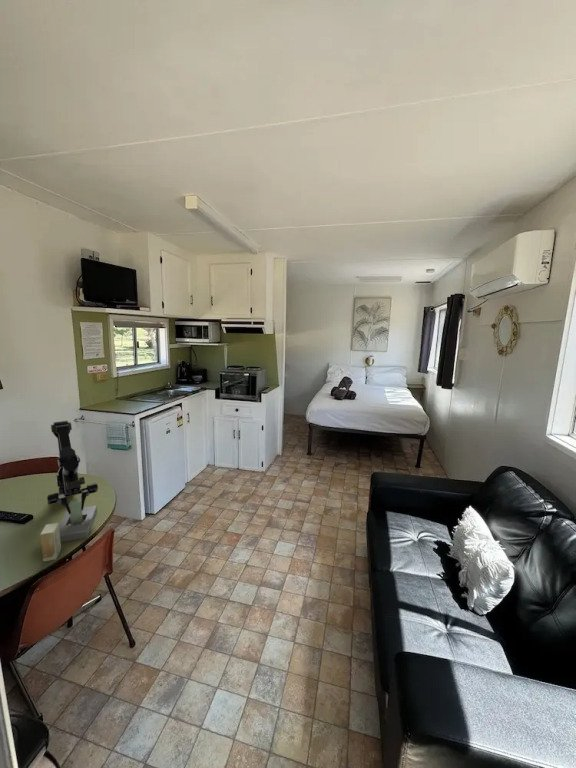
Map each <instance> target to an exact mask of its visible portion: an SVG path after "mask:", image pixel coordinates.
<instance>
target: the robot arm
mask: <svg viewBox="0 0 576 768" xmlns="http://www.w3.org/2000/svg"><path fill="white" fill-rule="evenodd" d="M50 430H51V433H52V434H53V436H54V437H55V438H56V440H57V444H58V454H59V455H58V458H57V465H58V468H59V469H58V470H57V475H56V477H55V480H56V485H57V487H58V492H56V493H52V494H51V493H50V494H48V495H47V496H46V500H47V501H46V502H47V505H48V506H50V505H54V504H56V503H57V505H60V504H61V506H63V507H64V509H65V510H66V511H67V512H68V513H69V514H70V509H69V502H68V499H67V498H70V497H73V496H77V495H81V496H80V500H81V504H82V510H83V507H85V501H86V498H87V497H88V496H90V495H91V494H95V493H97V492H98V490H99V487H98V486H99V485H98V483H90V484H87V485H86V487H83V488H82V485H85V483H86V481H85V476H82V477H79V473H78V471H79V464H80V463H81V459H80V457H79V456H78V454H76V450H75V449H73V448H72V445H71V440H70V432H71V431H72V423H71V422H69V421H68V420H63V421H62V420H61V421H55V422H53V424H50Z"/></svg>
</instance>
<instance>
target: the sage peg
mask: <svg viewBox="0 0 576 768" xmlns="http://www.w3.org/2000/svg"><path fill="white" fill-rule="evenodd" d="M68 505H69V509H70V522H71V525H76V524H82V523H83V518H82V504H81V498H80V499H79V498H74V499H72V500H71V501H70V502H68Z"/></svg>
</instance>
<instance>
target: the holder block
mask: <svg viewBox="0 0 576 768" xmlns="http://www.w3.org/2000/svg"><path fill="white" fill-rule="evenodd" d="M97 512H98V506H97V505H91V506H84V507H83V510H82V518H83V523H82V524H76V525H71V522H70V514H69V513H68V512H67V510H66V511H65V513H64V515H63V518H61V521H60V523H59V532H60V542H61V543H65V542H69V541H77V540H81V539H88V536H89V534H90V531H91V529H92V526H93V523H94V520H95V518H96V516H97Z"/></svg>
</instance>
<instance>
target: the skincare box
mask: <svg viewBox="0 0 576 768" xmlns="http://www.w3.org/2000/svg"><path fill="white" fill-rule="evenodd" d="M59 525H60V523H59V522H55V523H49V524H45V525H44V527H43V528H42V530H41V532H40V534H39V535H40V536H39V537H40V545H41V552H42V553H41V554H42V562H43V563H44V562H49V561H56V560H57V559H58V556H59V554H60V552H61V551H62V550H61V549H62V542H60V532H59Z"/></svg>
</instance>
